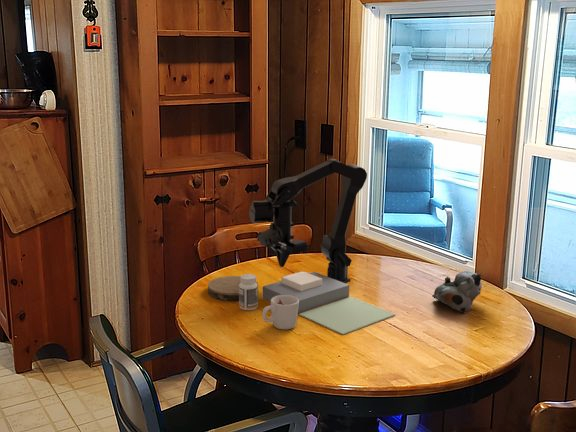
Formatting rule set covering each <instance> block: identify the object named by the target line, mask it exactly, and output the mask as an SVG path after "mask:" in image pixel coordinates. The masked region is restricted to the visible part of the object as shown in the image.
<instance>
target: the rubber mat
mask: <svg viewBox="0 0 576 432" xmlns="http://www.w3.org/2000/svg"><path fill="white" fill-rule="evenodd" d="M299 316H300V317H303V318H305V319H307V320H309V321H311V322H313V323H316V324H318V325H320V326H322V327H325V328H326V329H329V330H331V331H333V332H335V333H337V334H340V335H342V336H344V335H348V334H351V333H352V332H355V331H358V330H360V329H363V328H365V327H368V326H370V325H371V326H372V325H374V324H376V323H379V322H381V321H384V320H388V319H390V318H392V317H395V316H396V313H394V312H391V311H388V310H385V309H384V308H381V307H378V306H376V305H373V304H371V303H368V302H365V301H363V300H360V299H358V298H356V297H353V296H349V297H347V298H344V299H341V300H338V301H335V302H332V303H329V304H326V305H323V306H320V307H317V308H314V309H311V310H308V311H305V312H302V313H299Z"/></svg>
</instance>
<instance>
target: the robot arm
mask: <svg viewBox="0 0 576 432" xmlns="http://www.w3.org/2000/svg"><path fill="white" fill-rule="evenodd" d="M335 173H336V174H337V175H338V174H339V175H341V187H342V191H341V195H340V199H339V202H338V205H337V210H336V213H335V217H334V221H333V223H332V227H331V231H330V232H329V234H327V235H326V234H323V236H322V241H321V244H320V245H319V246H320V247H321V253H322V255H324V256H325V258H326V260H327V261H329V262H328V264H327V270H326V271H327V272H326V273H327V274H326V276H327V277H330V278H332V279H335V280H337V281H340V282H343V283H348V282H351V281H352V279H351V278H349V277H348V270H349V267H350V266H351V264H352V261H353V260H352V259H351V258H350V257H349V256H348V255H347V254H346V249H347V243H346V234H347V230H348V227H349V223H350V219H351V215H352V212H353V210H354V209H353V208H354V205H355V203H356V202H355V201H356V198H357V195H358V194H359V193H360V191H361V190H362V189H363V187H364V186H365V183H366V180H367V178H368V173H367V171H366V169H365V168H363V167H361V166H359V165H356V164H354V163H350V164H345V163H342V162H341V161H339V160H337V159H335V158H328V159H327V160H326V161H324V162H322V163H320V164H317V165H315V166H313V167H311V168H310V169H307V170H305V171H303V172H301V173H300V174H297V175H294V176H288V177H283V178H280V179H277V180H275V181H274V182H273V183H272V186H271V189H270V190H269V192H268V193H267V195H266V197H265V198H264V200H251V205H250V207H249V210H248V213H249V214H248V215H249V220H250V222H251V223H252V224H253V223H254V224H255V223H266V222H268V223H269V222H270V224H269V229H266V230H262V231H259V232H258V234H257V236H256V237H257V239H256V240H257V241H258V242H259V245H260V246H263V247H265V248H271V249H272V250H273V251H274V253H275V254H274V255H275V256H276V259H277V262H278V265H279V267H280V268H283V267H285V265H286V263H287V261H288V259H289V257H290V256H291V254H298V253H303V252H306V251H308V250H309V249H308V248H309V244H308V242H307V241H305V240H301V239H295V235H293V234H292V227H294V226H295V223H294V222H293V221H292V210H293V209H292V208H293V207H298V206H299V204H298V203H297V202H296V201H295V200H294V198H295V197H296V196H297V195H299V193H300V192H301V191H302V190H303V189H305V188H307V187H309V186H311V185H313V184H315V183H316V182H319V181H321V180H323V179H325V178H327V177H328V176H331V175H333V174H335ZM271 220H273V221H272V222H271ZM294 239H295V240H294Z"/></svg>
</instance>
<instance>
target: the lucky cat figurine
mask: <svg viewBox="0 0 576 432" xmlns="http://www.w3.org/2000/svg"><path fill="white" fill-rule="evenodd" d="M481 276H482V274H481V273H476V272H474V271H471V270H463V271H461V272H459V273H457V274H456V275H455V277H454V280H453V281H451V278H450V277H449V276H446V277H445V278H444V282H443V283H442V284H439V285H438V286H436V288H435V290H434V292H433V293H434V294H432V295H431V297H432V298H433V299H436V300H437V301H439V302H442V303H444V304H445V305H447V306H449V307H450V308H451V309H454V310H456V311H459V312H460V313H462V314H467V313H469V311H470V310H471V309H472V306H473V302H474V301H475V300H476V298H477V297H478V296H479V295H480V294H481V292H482V287H483V283H482V279H481Z"/></svg>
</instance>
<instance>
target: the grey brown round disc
mask: <svg viewBox="0 0 576 432" xmlns="http://www.w3.org/2000/svg"><path fill="white" fill-rule="evenodd" d="M240 277H241V276H240V275H226V276H219V277H217V278H214V279H211V280H210V281H208V283H207V294H208V296H209V297H210V298H211V299H213V300H218V301H221V302H228V303H229V302H230V303H234V302H239V284H240V283H241V280H240ZM255 282H256V283H257V285H258V286H259V284H258V281H257V280H256V281H255Z"/></svg>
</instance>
